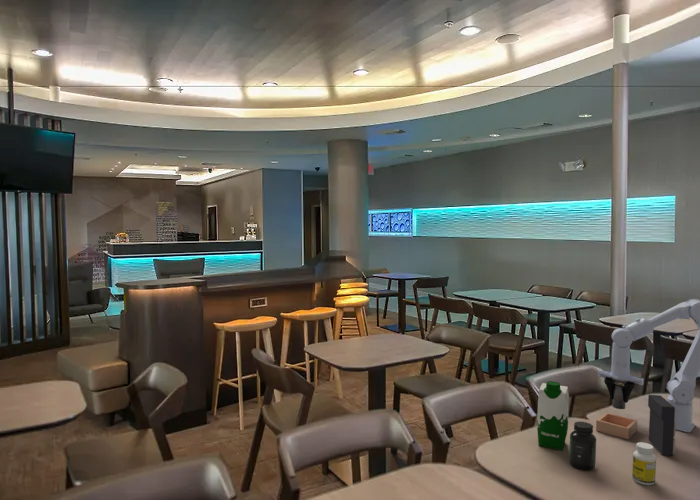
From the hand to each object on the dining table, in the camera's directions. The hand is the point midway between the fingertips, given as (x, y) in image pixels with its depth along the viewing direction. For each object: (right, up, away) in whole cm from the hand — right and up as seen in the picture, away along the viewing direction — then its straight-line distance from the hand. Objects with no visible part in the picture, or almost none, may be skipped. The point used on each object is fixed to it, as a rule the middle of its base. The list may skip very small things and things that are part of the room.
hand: (619, 400), depth 181 cm
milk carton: (-32, -8, -21) cm, 39 cm away
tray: (-6, -7, -10) cm, 14 cm away
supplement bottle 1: (-29, -8, -35) cm, 47 cm away
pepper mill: (0, -2, 0) cm, 2 cm away
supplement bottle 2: (-16, -9, -44) cm, 47 cm away
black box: (0, -8, -23) cm, 25 cm away
